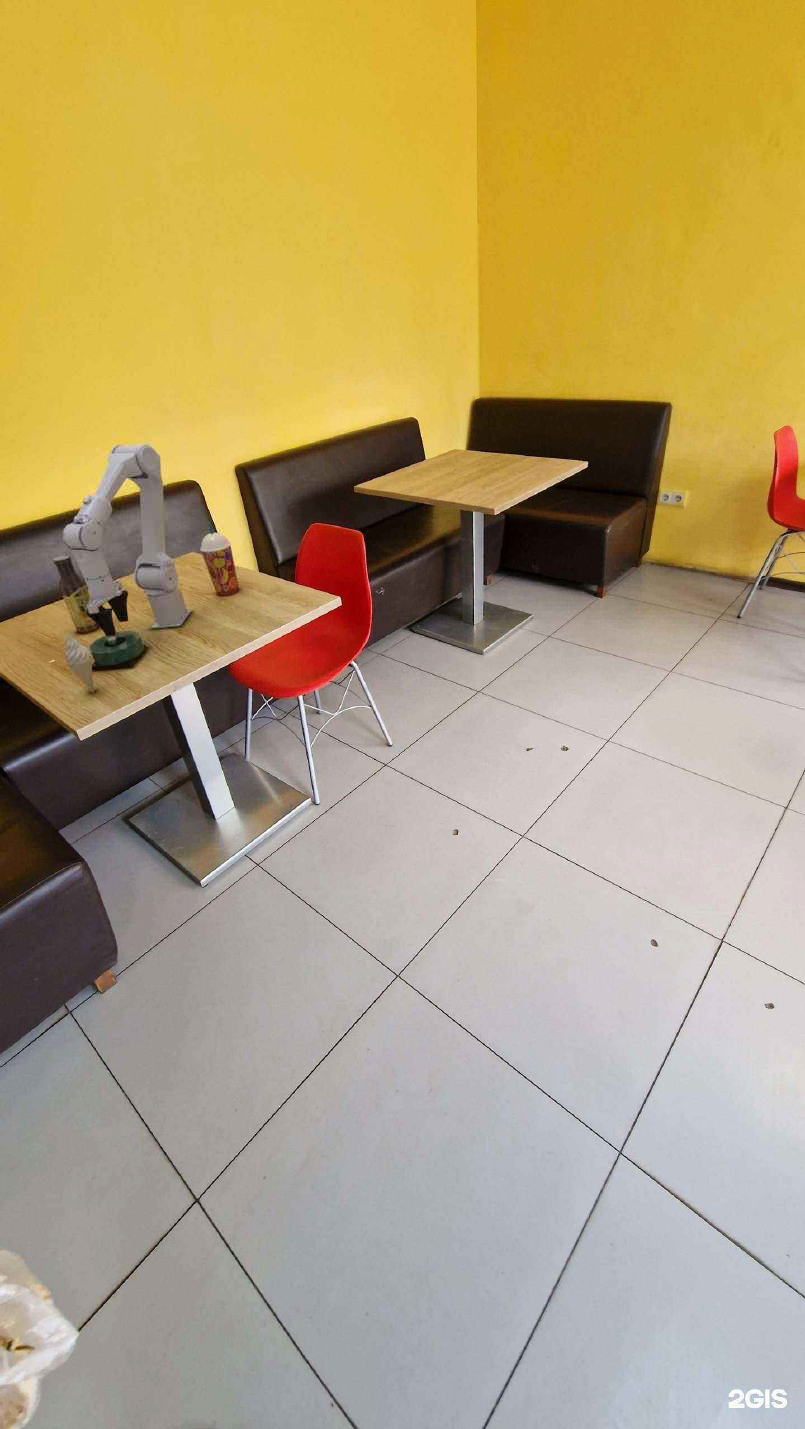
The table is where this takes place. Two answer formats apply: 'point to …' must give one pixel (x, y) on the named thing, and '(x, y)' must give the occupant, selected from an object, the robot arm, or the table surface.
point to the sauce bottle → (74, 594)
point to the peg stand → (127, 664)
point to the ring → (117, 648)
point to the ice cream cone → (79, 661)
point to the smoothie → (219, 562)
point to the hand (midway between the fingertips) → (117, 628)
